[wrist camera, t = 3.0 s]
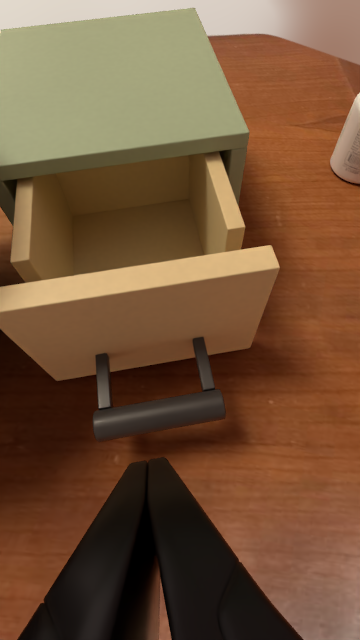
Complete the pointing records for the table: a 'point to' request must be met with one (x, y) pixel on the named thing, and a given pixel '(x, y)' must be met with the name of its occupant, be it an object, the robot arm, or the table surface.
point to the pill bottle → (349, 147)
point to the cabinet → (113, 98)
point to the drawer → (135, 280)
